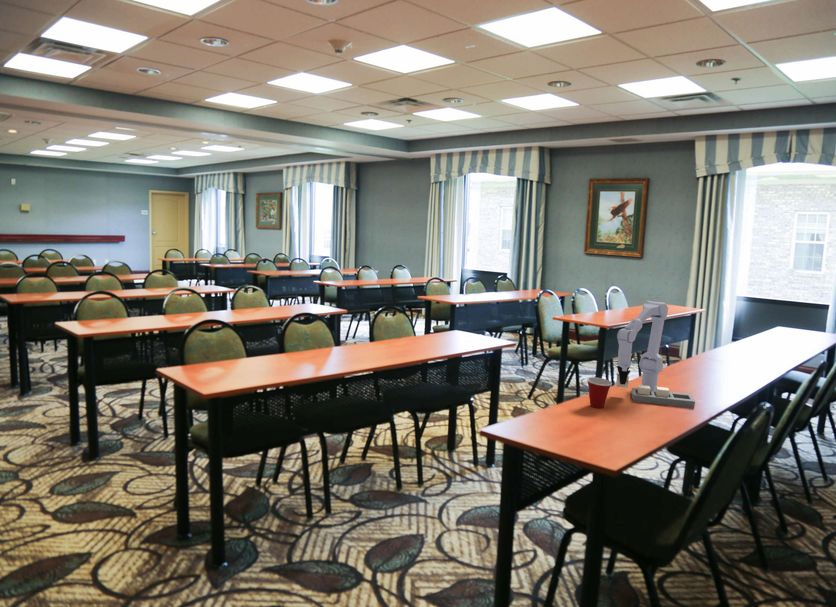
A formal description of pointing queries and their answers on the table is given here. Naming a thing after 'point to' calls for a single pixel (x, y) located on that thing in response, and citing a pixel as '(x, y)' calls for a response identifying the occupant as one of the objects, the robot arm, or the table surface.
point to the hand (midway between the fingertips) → (622, 382)
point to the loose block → (621, 384)
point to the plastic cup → (598, 391)
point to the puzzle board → (661, 396)
